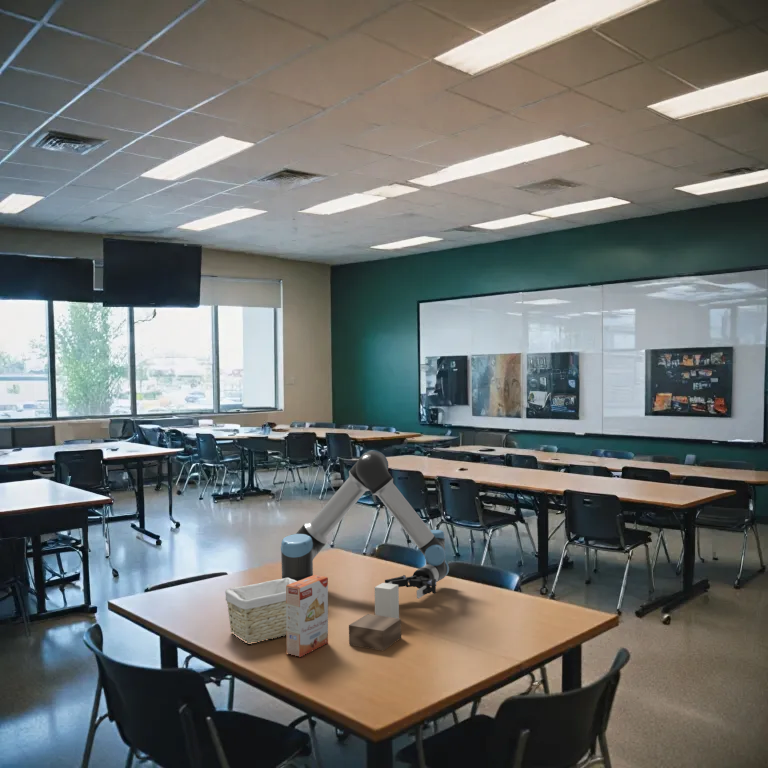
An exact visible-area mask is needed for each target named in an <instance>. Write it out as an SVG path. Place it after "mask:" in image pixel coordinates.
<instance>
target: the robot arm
mask: <svg viewBox="0 0 768 768" xmlns="http://www.w3.org/2000/svg"><path fill="white" fill-rule="evenodd" d="M388 470H389V461H388V459H387V457H386V456H385V454H384V453H382V452H380V451H378V450H375V449H373V450H368V451H365V452H364V453H363V454H361V456H360V457H359V458H358V459H357V461H356V462H355V464H354V465H353V466H352V467H351V468H350V469H349V471H348V475H349V476H348V478H347V479H346V480H345V481H344V482H343V483H342V485H341V486H340V487H339V489H338V490H336V491H335V493H334V494H333V495H332V497H331V498H330V499H329V500H328V502H326V503H325V505H324V506H323V507H322V509H321V510H320V511H319V512H318V513H317V514H316V515H315V517H314V518H313V519H312V520H311V521H310V522H305V523H303V525H302V526H301V528H299V530H298V531H297V532H296V533H294V534H290V535H287V536H285V537H283V539H282V540H281V546H280V555H281V579H284V578H290V579H293V580H296V581H299V580H302V579H305V578H307V577H310V576H313V575H314V559H315V558H316V556H317V555H318V554H319V553H320V551H322V549H323V548H324V547H325V546H326V545H327V543H328V536H329V535H330V534H331V533H332V531H333V530H334V529H335V528H336V527H337V526H338V525H339V523H340V522H341V521H342V520H343V519H344V518H345V516H346V515H347V514H348V513H349V511H350V510H351V509H352V508H353V507H354V506H355V504H356V503H358V501H359V500H360V499H361V497H362V496H363V495H364V494H365V493H366V492H369V491H370V493H371V494H372V495H373V496H377V498H379V500H380V501H381V503H383V505H384V506H385V508H387V510H388V511H389V512H390V514H391V515H392V516H393V518H394V519H395V520H396V521H397V523H398V524H399V525H400V526H401V528H402V530H404V531H405V532H406V534H407V535H408V536H409V538H410V539H411V540H412V541H413V542H414V544H415V545H416V547H417V548H418V549H419V551H420V552H421V554H423V556H424V559H425V565H423V566H422V567H420V568H419V569H416V570H415V571H414V572H413V574H412V575H411V576H406V575H405V574H403V575H401V576H396V577H392V578H388V579H384V583H389V584H397V585H398V587H399V588H401V587H406V588H412V587H413V588H417V589H416V599H420V598H422V597H424V596H425V595H428V594H431V593H432V594H433V595H435V594H436V591H437V589H436V587H437V583H438V582H440V581H441V580H443V579H445V578H446V576H447V575H448V573H449V571H450V567H449V566H450V565H449V564H448V561H446V556H447V554H446V544H445V543H446V541H445V540H446V538H445V532H444V531H443V530H441V529H430V528H429V527H428V525H426V523H425V522H424V521H423V519H422V518H421V517H420V515H419V514H418V513H417V512H416V511H415V508H414V507H413V506H412V505H411V504H410V503H409V501H408V500H407V499H406V498H405V497H404V494H403V493H401V491H400V490H399V489H398V487H397V486H396V485H395V484H394V478H393V476H392V475H391V474H390V472H389V471H388Z"/></svg>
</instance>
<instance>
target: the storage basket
mask: <svg viewBox="0 0 768 768" xmlns="http://www.w3.org/2000/svg"><path fill="white" fill-rule="evenodd" d="M294 582H297V581H296V580H293V579H290V578H284V579H282V578H280V579H273V580H267V581H262V582H260V583H254V584H253V583H252V584H249V585H243V586H237V587H230V588H228V589H226V590H225V591H224V592H225V601H226V604H227V611H228V618H229V619H228V620H229V625H230V633H231V632H234V634H236V635H237V636H239V637H240V638H242V639H243V640H245V641H247V643H251V642H258V641H262V640H266V639H272V638H274V639H277V638H276V637H278V638H282V637H281V636H283V637H286V636H285V635H286V585H289V584H291V583H294ZM272 640H273V639H272ZM266 641H267V640H266Z"/></svg>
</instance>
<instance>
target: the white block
mask: <svg viewBox="0 0 768 768" xmlns="http://www.w3.org/2000/svg"><path fill="white" fill-rule="evenodd" d="M399 588H400V587H398V585H397V584H389V583H385V582H382V583H380V584H377V585H376V586H374V615H379V616H385V617H392V618H398V619H400V600H399V599H400V598H399V597H400V593H399V592H400V591H399Z"/></svg>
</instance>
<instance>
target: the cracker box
mask: <svg viewBox="0 0 768 768" xmlns="http://www.w3.org/2000/svg"><path fill="white" fill-rule="evenodd" d="M328 580H329V577H327V576H322V575H317V574H313V576H310V577H307V578H305V579H302V580H299V581H297V582H294V583H291V584H289V585H286V636H285V638H286V641H285V642H286V644H285V645H286V646H285V647H286V648H285V649H286V653H288V654H291V655H290V656H292V655H295V656H294V657H296V656H299V657H298V658H300V657H301V656H302V657H304V656H306V655H308V654H310V653H312V652H313V651H312V650H314V651H316V650H317V648H318V647H320V648H322V647H323V645H324V644H326V643H327V644H328V643H329V581H328ZM327 644H326V645H327ZM321 646H322V647H321ZM324 646H325V645H324ZM315 649H316V650H315ZM318 649H319V648H318ZM311 651H312V652H311ZM309 652H310V653H309ZM307 653H308V654H307ZM288 654H287V655H288ZM305 654H306V655H305ZM303 655H304V656H303ZM302 657H301V658H302Z"/></svg>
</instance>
